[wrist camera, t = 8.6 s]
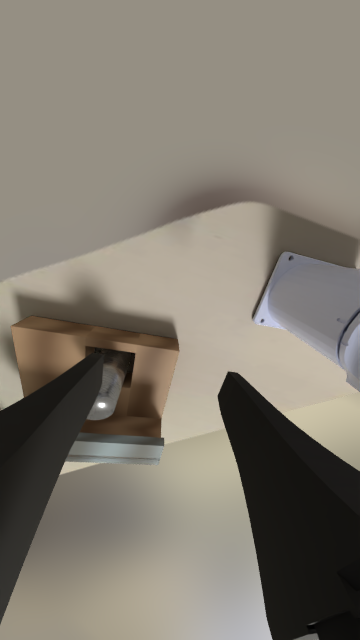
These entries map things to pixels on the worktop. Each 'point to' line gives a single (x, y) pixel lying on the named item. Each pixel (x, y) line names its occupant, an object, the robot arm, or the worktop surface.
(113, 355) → the peg
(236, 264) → the worktop surface
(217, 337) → the worktop surface
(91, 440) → the socket board
